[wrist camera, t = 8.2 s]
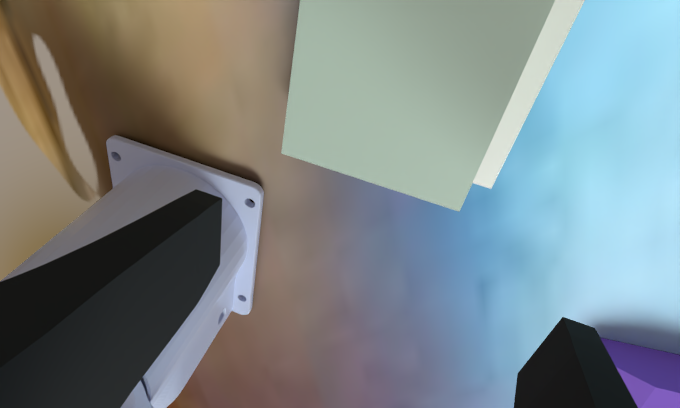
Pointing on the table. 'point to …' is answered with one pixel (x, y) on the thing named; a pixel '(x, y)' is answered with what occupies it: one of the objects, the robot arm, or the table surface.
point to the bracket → (647, 374)
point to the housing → (406, 88)
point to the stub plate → (528, 88)
